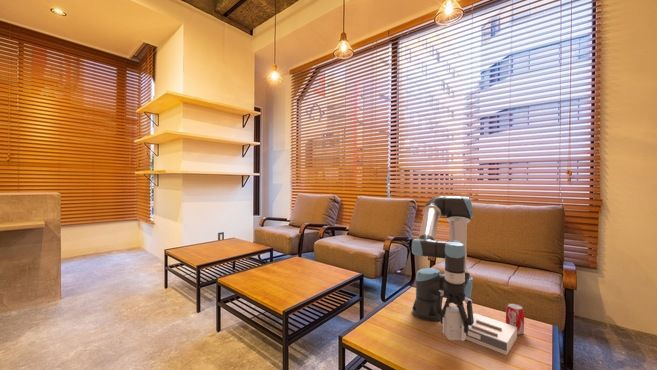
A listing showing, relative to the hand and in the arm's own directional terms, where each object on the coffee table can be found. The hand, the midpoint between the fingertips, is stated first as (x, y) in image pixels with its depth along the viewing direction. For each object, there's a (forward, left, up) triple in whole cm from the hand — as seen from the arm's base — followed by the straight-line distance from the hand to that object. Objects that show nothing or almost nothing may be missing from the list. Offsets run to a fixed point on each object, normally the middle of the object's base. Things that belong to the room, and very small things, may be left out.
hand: (453, 335), depth 114 cm
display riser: (+7, +20, -6) cm, 23 cm away
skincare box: (0, 0, -1) cm, 1 cm away
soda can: (+14, +34, -6) cm, 38 cm away
